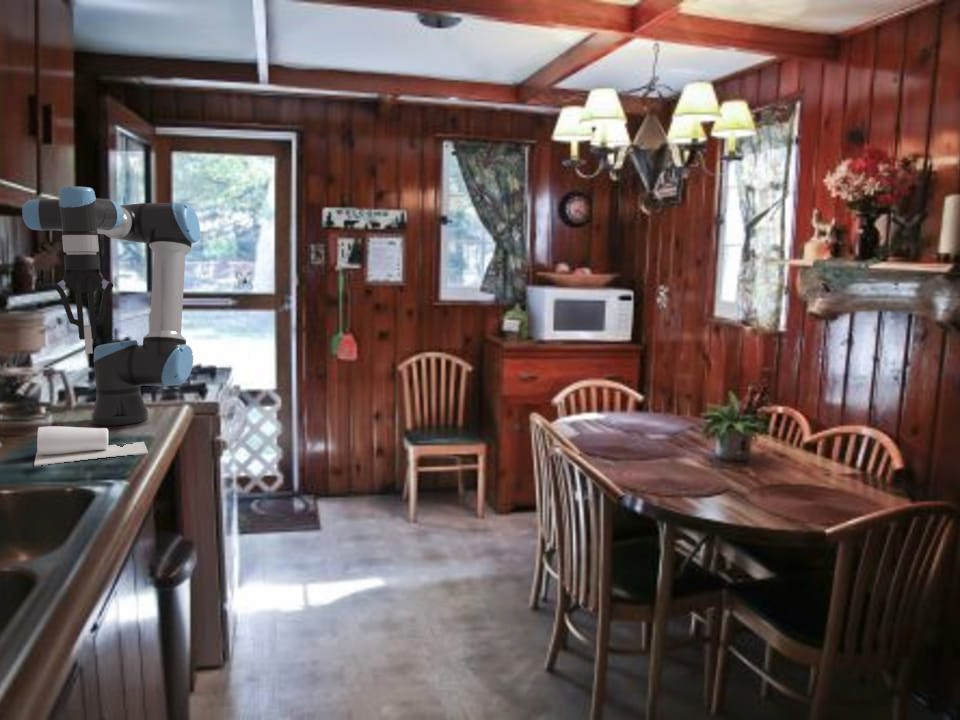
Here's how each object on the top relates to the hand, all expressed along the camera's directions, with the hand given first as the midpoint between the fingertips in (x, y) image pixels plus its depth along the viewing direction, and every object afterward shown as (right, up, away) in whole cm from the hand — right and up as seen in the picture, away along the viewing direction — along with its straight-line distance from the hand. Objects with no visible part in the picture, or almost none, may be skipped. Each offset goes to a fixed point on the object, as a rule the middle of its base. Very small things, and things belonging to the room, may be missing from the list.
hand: (89, 352), depth 189 cm
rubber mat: (0, -24, +1) cm, 25 cm away
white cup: (+3, -21, +4) cm, 22 cm away
